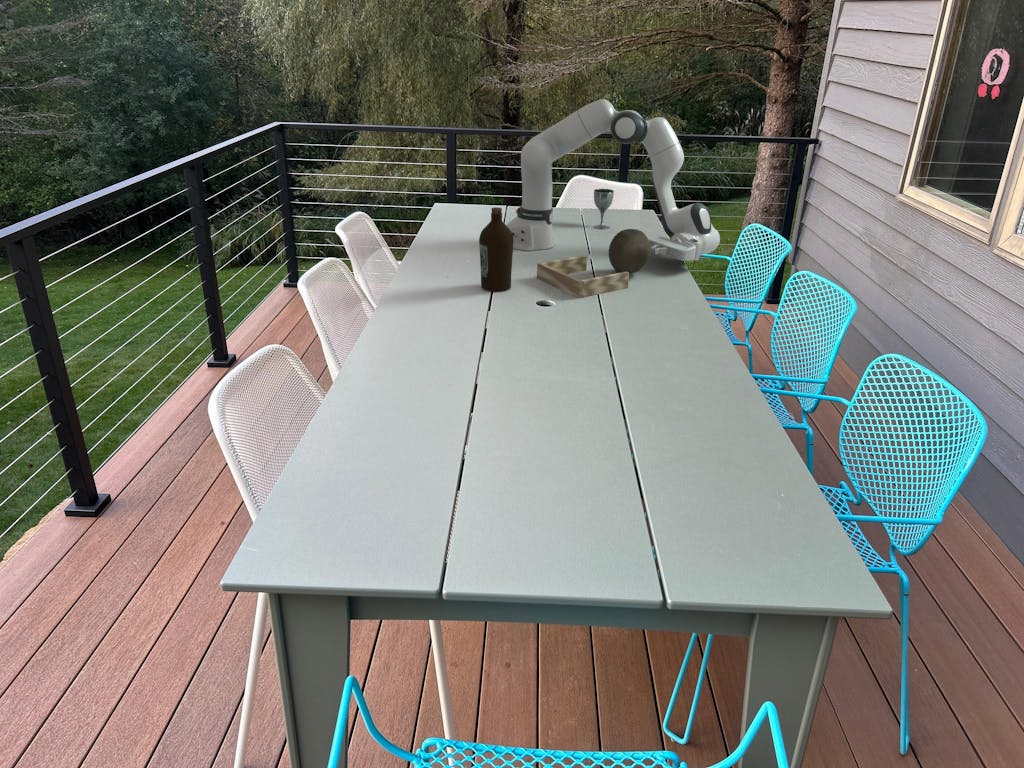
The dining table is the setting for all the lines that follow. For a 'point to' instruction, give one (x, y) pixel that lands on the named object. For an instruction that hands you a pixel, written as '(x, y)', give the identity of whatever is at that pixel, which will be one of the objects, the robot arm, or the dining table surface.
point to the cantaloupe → (629, 251)
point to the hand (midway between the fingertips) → (652, 251)
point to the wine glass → (603, 203)
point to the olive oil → (496, 254)
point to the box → (559, 278)
